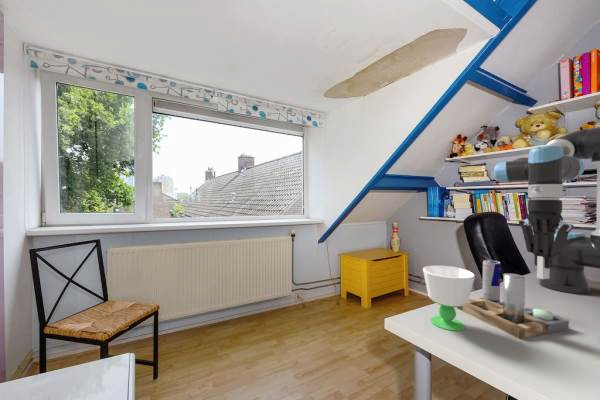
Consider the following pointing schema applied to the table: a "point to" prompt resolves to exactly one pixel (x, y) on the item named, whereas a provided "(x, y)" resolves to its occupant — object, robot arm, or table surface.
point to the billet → (514, 298)
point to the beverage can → (491, 280)
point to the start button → (543, 314)
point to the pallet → (496, 319)
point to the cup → (448, 293)
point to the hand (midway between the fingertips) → (543, 278)
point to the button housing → (552, 322)
